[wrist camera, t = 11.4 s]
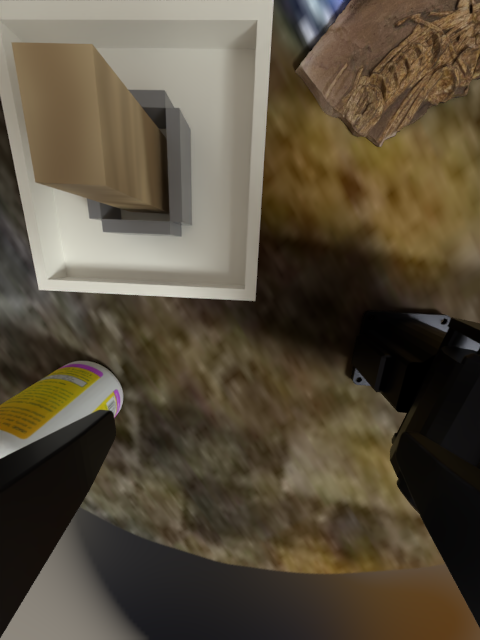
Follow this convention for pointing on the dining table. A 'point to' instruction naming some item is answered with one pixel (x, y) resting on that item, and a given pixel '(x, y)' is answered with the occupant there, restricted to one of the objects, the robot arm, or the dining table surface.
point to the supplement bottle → (57, 403)
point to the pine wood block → (89, 129)
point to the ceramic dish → (182, 145)
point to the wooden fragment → (393, 62)
